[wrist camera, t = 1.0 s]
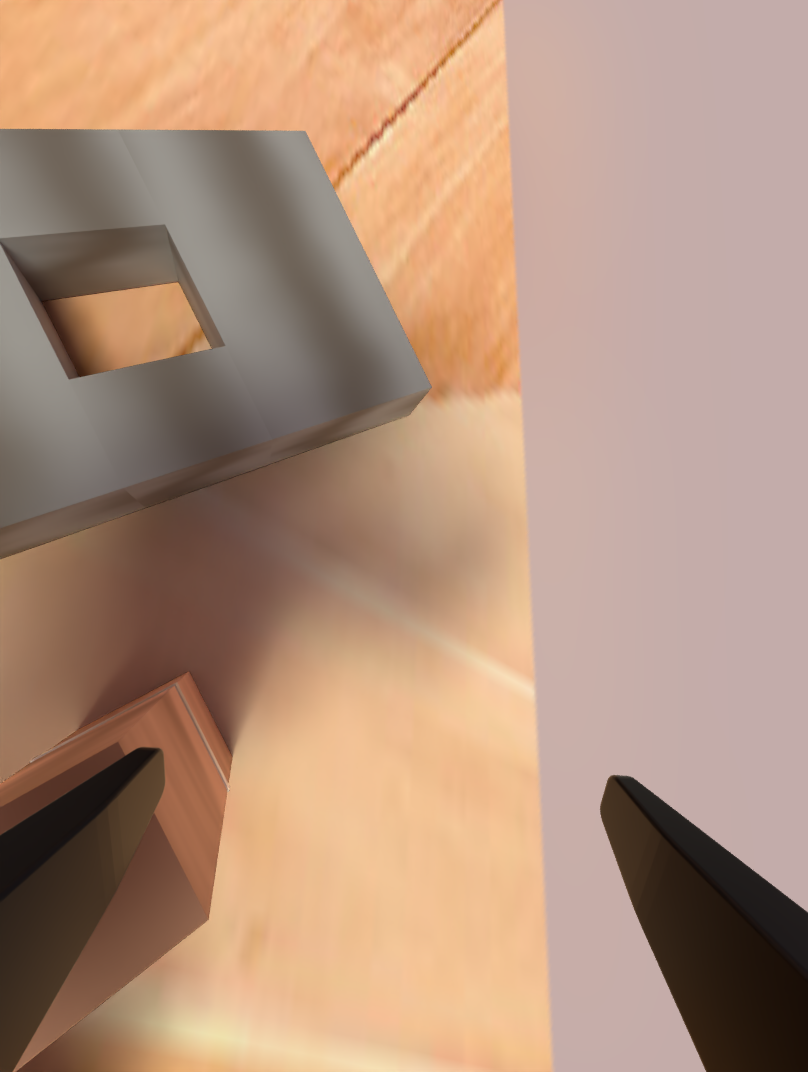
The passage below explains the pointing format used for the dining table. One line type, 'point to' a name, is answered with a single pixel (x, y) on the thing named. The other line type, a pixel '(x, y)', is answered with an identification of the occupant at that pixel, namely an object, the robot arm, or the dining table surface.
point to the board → (217, 301)
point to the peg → (163, 853)
